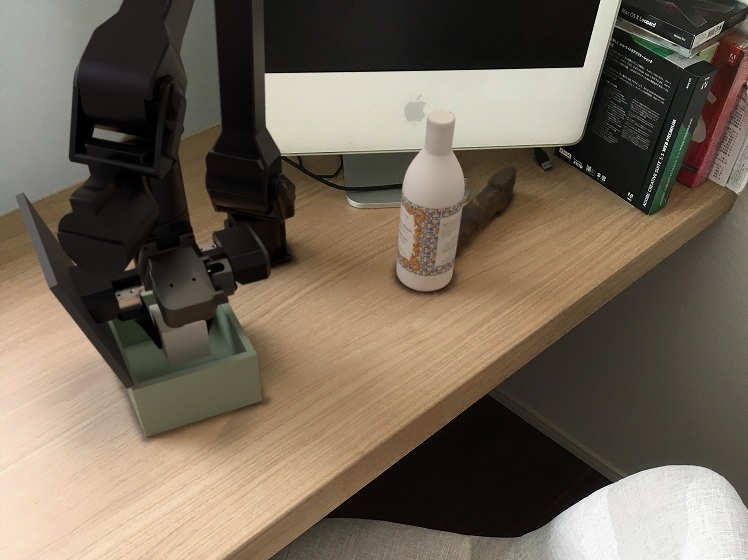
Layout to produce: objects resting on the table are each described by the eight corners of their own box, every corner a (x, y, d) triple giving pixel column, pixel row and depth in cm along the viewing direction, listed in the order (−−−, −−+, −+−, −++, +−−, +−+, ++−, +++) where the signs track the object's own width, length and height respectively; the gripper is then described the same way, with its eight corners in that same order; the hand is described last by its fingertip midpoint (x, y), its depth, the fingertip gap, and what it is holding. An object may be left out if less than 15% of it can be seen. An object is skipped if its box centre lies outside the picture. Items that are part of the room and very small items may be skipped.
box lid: (23, 191, 69) (14, 195, 69) (58, 283, 62) (48, 288, 62) (98, 297, 81) (91, 301, 81) (134, 385, 74) (127, 389, 74)
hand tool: (450, 266, 98) (455, 235, 94) (424, 253, 99) (428, 221, 95) (528, 200, 107) (536, 169, 103) (504, 188, 108) (510, 157, 105)
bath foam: (387, 264, 98) (397, 104, 81) (437, 252, 99) (457, 94, 83) (409, 298, 94) (424, 138, 78) (461, 286, 96) (486, 127, 80)
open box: (220, 321, 90) (212, 273, 85) (262, 401, 83) (257, 354, 78) (111, 351, 87) (95, 303, 81) (146, 437, 80) (132, 390, 74)
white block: (198, 327, 84) (191, 294, 80) (211, 354, 81) (206, 321, 78) (156, 339, 82) (148, 305, 79) (169, 367, 80) (161, 334, 77)
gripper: (67, 288, 62) (113, 420, 74) (288, 233, 67) (296, 365, 80) (37, 210, 67) (84, 345, 80) (242, 165, 73) (256, 298, 85)
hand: (182, 339), depth 81 cm, fingers closed on white block, 4 cm apart
